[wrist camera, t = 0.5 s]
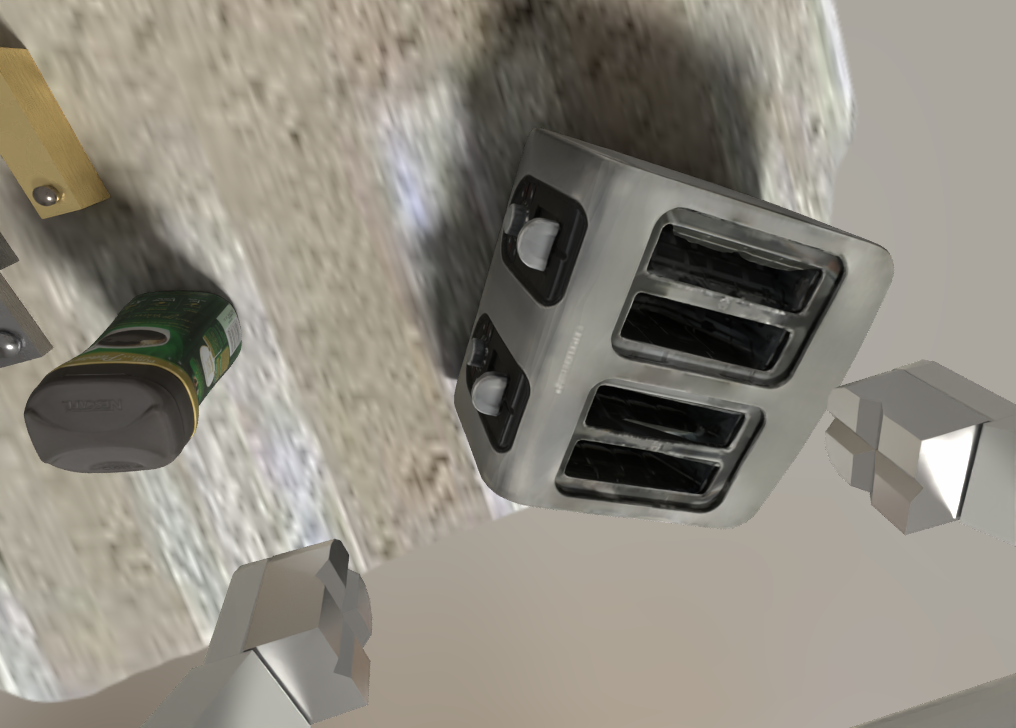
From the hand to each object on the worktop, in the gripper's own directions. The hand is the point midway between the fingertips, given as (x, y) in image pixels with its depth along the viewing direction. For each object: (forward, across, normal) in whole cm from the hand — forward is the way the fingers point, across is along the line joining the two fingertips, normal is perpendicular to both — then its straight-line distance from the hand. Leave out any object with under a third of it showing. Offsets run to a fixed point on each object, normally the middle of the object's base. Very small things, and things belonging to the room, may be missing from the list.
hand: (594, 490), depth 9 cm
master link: (+46, +29, -9) cm, 55 cm away
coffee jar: (+46, +27, +10) cm, 54 cm away
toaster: (+46, -14, +20) cm, 52 cm away
